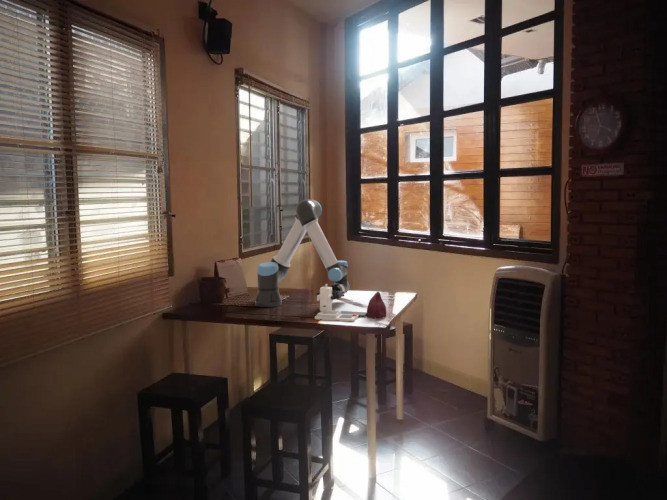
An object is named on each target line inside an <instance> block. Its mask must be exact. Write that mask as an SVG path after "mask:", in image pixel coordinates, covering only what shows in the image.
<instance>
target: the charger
mask: <svg viewBox="0 0 667 500" xmlns="http://www.w3.org/2000/svg"><path fill="white" fill-rule="evenodd" d="M319 291H320V300H319V311H320V312H321V311H322V310H333V299H332V300H331V301H329V302H327V298H328V296H329V295H331V294H332V287H330V286H328V283H325V284H324V285H323V286H321V287H320V289H319Z"/></svg>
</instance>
